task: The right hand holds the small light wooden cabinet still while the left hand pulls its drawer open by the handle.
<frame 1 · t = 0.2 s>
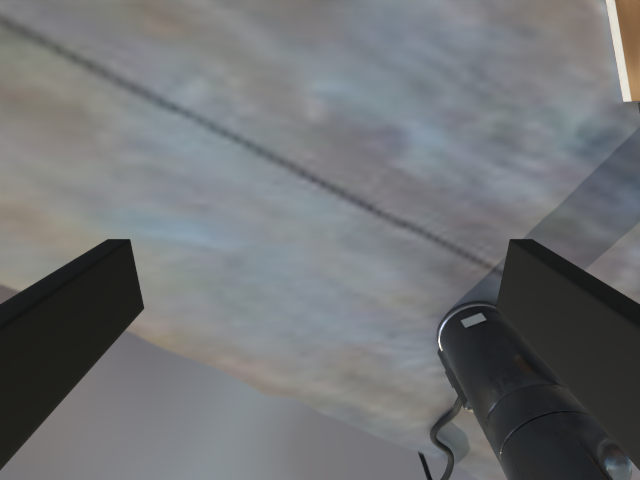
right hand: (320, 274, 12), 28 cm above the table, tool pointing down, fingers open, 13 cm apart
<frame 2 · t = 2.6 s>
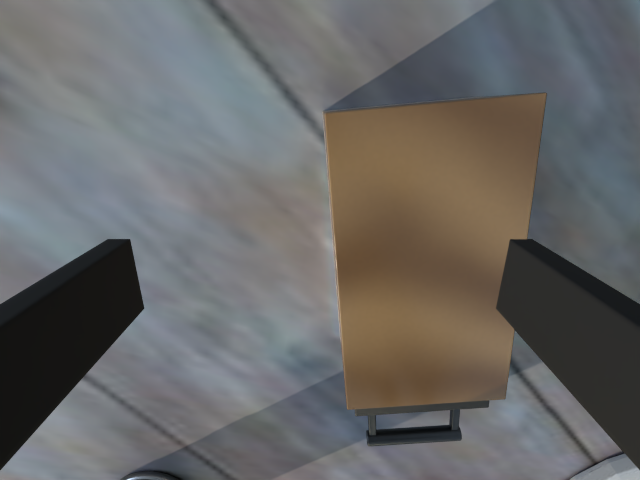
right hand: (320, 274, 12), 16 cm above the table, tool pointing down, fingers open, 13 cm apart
cabinet: (399, 232, 29), on the table
drawer: (411, 314, 27), point 4 cm above the table, slide at 0.5 cm
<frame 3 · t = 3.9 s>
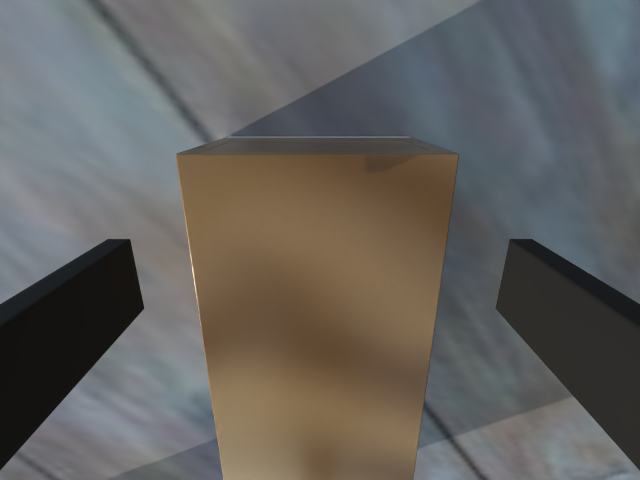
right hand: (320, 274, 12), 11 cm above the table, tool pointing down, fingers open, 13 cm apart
cabinet: (318, 280, 25), on the table
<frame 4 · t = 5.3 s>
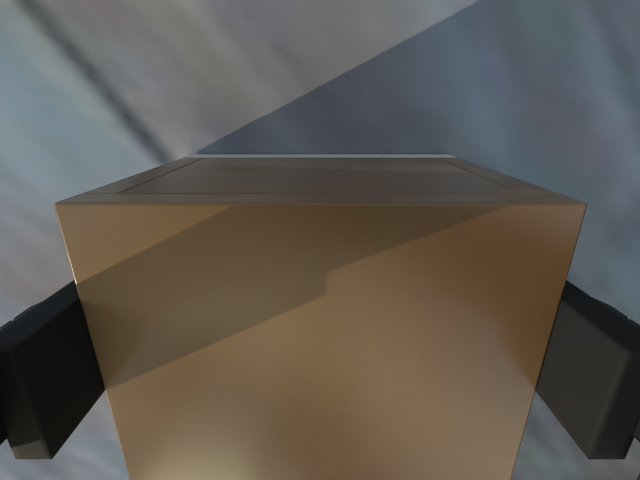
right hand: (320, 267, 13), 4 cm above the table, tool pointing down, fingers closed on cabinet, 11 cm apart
cabinet: (320, 345, 19), on the table, touching right hand
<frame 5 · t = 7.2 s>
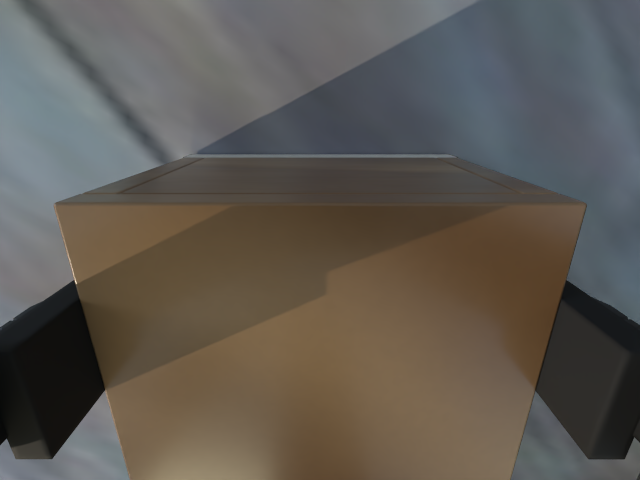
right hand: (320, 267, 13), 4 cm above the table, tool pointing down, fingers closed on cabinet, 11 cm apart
cabinet: (320, 345, 19), on the table, touching right hand
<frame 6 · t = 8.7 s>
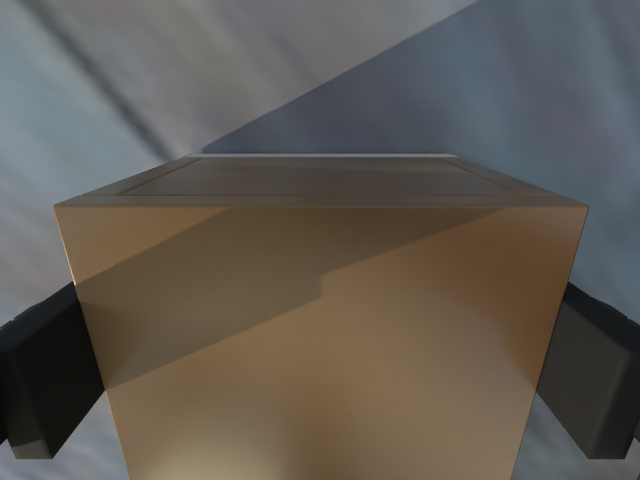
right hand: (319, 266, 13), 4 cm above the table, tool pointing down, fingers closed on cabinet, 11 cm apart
cabinet: (320, 344, 19), on the table, touching right hand
when the right hand's fingers open (4 cm above the table, at t = 10.4 s): cabinet stays where it is, on the table.
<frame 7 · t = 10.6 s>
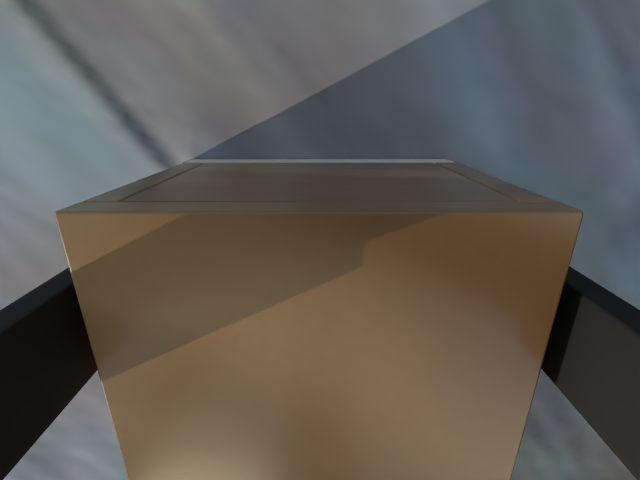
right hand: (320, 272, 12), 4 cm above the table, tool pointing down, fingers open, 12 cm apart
cabinet: (319, 349, 19), on the table
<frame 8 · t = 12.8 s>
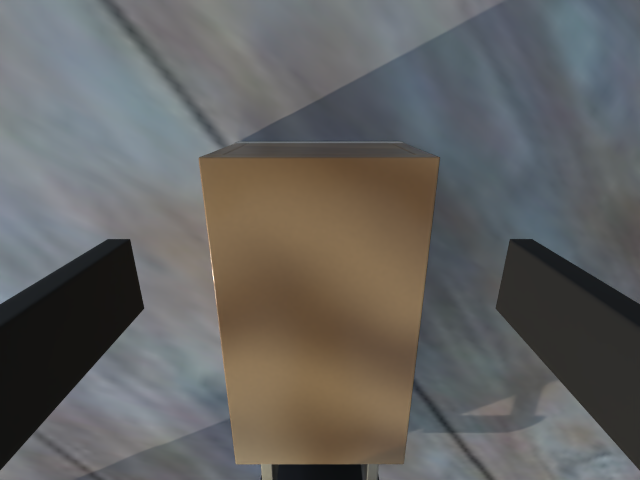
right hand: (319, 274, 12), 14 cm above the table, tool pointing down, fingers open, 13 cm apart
cabinet: (319, 273, 27), on the table
drawer: (319, 430, 27), point 4 cm above the table, slide at 7.1 cm
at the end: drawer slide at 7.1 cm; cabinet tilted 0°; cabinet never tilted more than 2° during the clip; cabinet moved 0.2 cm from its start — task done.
